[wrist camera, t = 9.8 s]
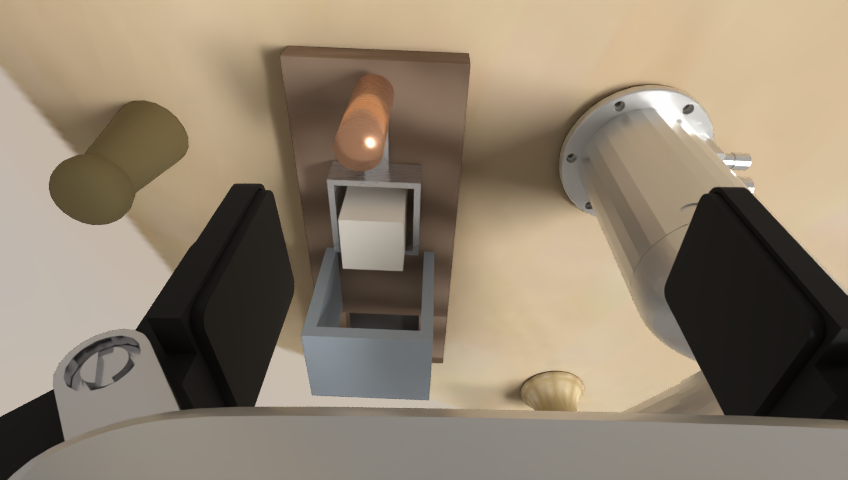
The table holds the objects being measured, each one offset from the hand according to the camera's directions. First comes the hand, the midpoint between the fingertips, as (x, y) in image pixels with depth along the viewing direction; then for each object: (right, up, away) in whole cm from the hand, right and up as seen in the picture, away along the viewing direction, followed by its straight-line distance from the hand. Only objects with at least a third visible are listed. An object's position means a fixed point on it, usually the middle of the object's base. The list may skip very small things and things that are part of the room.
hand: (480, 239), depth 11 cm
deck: (-5, +1, +37) cm, 38 cm away
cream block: (-5, +3, +32) cm, 33 cm away
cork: (-25, +9, +31) cm, 41 cm away
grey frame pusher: (-5, +7, +29) cm, 30 cm away
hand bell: (+16, -20, +53) cm, 59 cm away
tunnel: (-6, -4, +38) cm, 39 cm away
